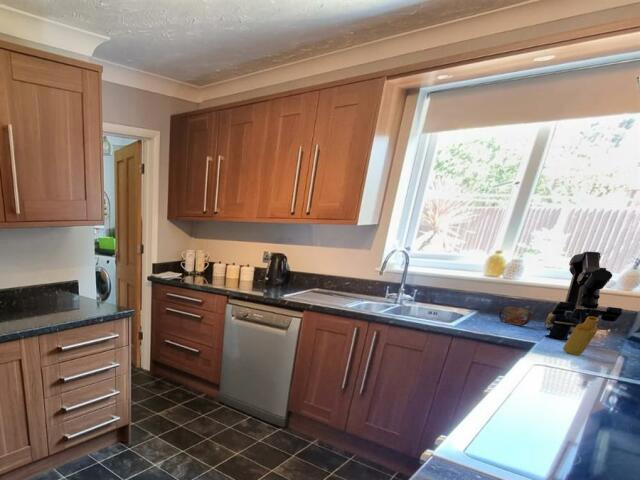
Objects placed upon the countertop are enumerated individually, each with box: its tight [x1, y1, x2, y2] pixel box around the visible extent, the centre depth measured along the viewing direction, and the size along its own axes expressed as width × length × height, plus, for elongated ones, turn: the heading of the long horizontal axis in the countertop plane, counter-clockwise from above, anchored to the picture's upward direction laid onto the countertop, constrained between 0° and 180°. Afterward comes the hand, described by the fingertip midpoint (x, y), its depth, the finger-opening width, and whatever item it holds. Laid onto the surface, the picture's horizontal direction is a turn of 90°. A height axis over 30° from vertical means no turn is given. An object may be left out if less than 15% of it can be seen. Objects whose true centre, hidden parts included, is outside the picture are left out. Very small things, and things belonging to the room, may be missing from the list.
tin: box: [498, 305, 533, 326], centre depth 218 cm, size 15×3×8 cm, turn 6°
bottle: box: [562, 317, 600, 356], centre depth 166 cm, size 6×6×15 cm
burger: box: [544, 311, 575, 333], centre depth 208 cm, size 14×14×10 cm
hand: (583, 328), depth 167 cm, fingers closed
